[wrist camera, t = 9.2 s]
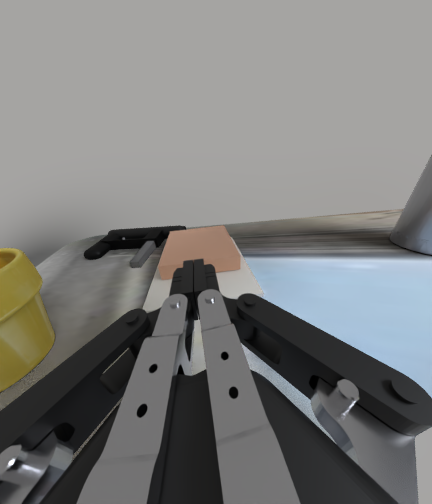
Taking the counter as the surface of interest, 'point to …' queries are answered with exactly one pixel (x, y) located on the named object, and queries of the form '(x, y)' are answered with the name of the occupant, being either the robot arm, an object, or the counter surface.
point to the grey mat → (228, 282)
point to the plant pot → (21, 318)
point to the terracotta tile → (199, 250)
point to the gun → (132, 242)
